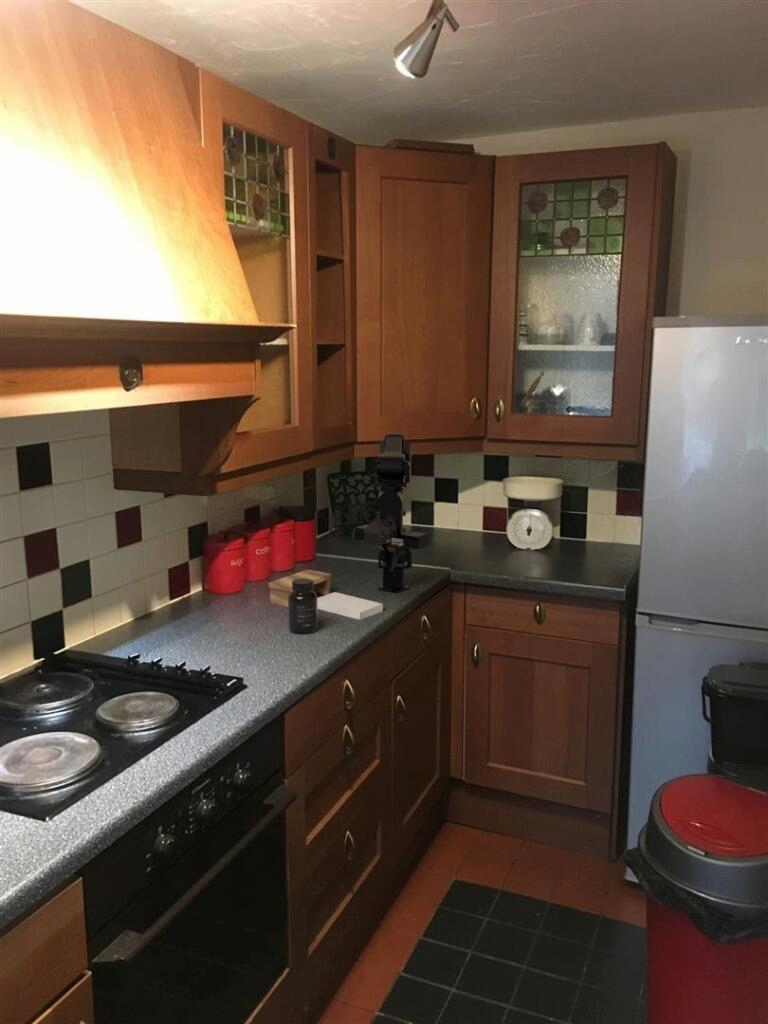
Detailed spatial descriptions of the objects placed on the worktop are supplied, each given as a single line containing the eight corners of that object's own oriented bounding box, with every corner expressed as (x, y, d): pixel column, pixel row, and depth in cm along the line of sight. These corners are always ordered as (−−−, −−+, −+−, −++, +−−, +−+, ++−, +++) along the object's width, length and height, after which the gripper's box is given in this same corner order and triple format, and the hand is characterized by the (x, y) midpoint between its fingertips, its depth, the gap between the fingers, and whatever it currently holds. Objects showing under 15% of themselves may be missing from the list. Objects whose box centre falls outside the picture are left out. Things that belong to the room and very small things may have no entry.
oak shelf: (307, 589, 236) (307, 569, 235) (331, 594, 232) (331, 574, 230) (269, 603, 223) (268, 582, 222) (293, 609, 218) (292, 587, 217)
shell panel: (334, 600, 228) (334, 592, 227) (382, 612, 218) (382, 603, 217) (311, 609, 221) (311, 600, 220) (360, 621, 211) (360, 612, 210)
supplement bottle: (285, 627, 205) (284, 578, 203) (313, 624, 207) (312, 575, 205) (292, 636, 199) (292, 586, 196) (321, 633, 201) (320, 583, 199)
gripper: (339, 508, 205) (339, 572, 208) (406, 518, 195) (405, 584, 198) (366, 501, 214) (365, 562, 217) (431, 510, 204) (430, 574, 207)
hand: (390, 571), depth 210 cm, fingers closed
